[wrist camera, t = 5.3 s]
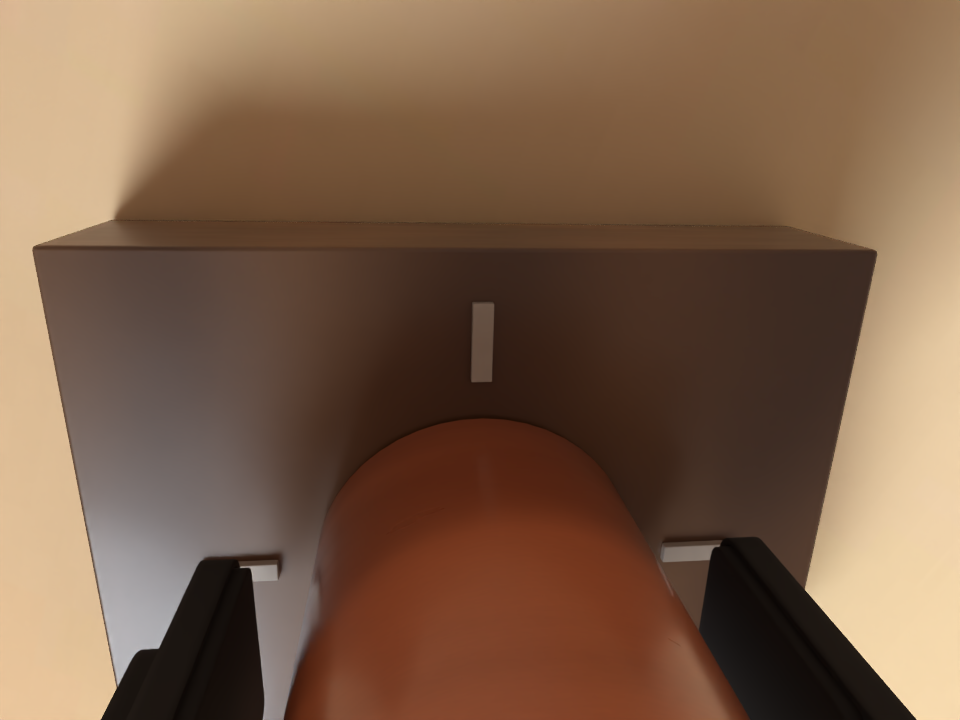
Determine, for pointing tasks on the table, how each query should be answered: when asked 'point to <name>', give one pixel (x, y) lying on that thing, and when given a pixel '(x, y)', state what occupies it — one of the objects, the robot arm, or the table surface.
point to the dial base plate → (434, 385)
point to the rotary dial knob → (494, 592)
